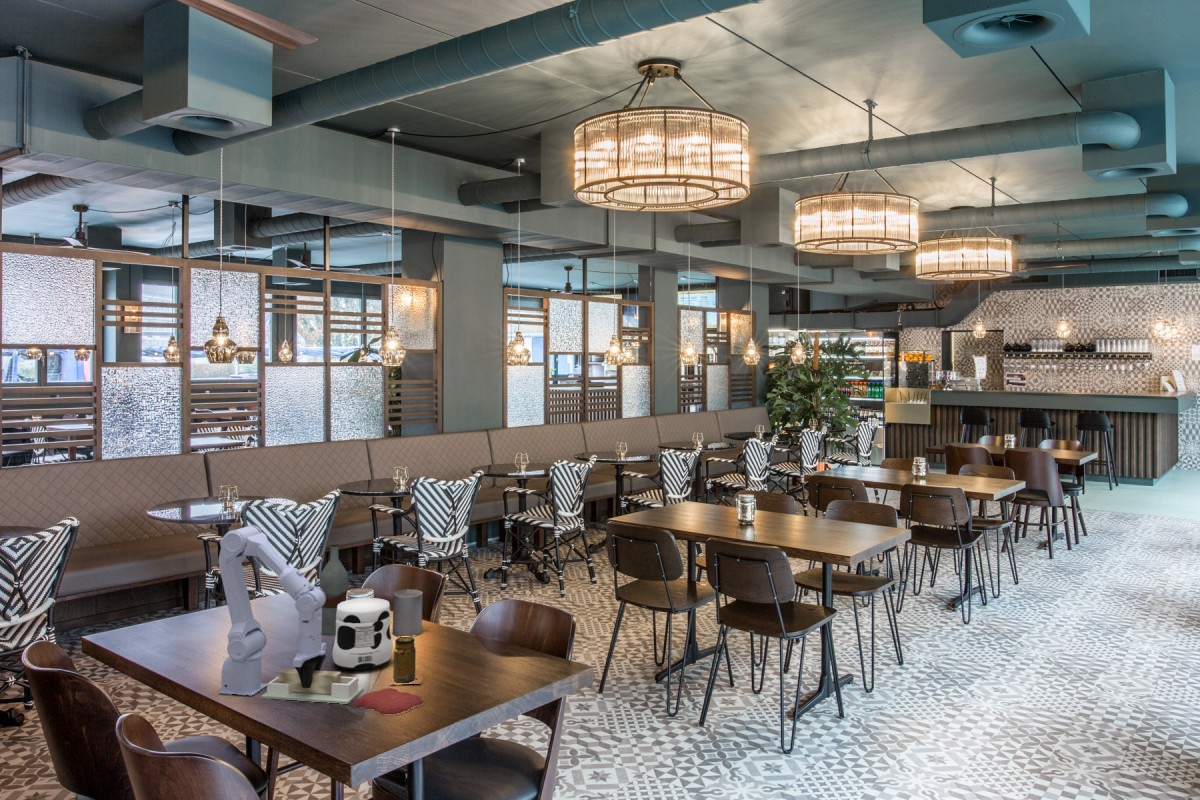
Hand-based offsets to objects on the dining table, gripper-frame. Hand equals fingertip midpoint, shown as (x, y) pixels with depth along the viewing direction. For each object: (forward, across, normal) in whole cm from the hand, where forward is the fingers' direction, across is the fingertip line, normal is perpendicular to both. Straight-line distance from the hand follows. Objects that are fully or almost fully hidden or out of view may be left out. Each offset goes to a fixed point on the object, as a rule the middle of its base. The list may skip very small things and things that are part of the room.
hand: (309, 685), depth 214 cm
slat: (+2, 0, 0) cm, 2 cm away
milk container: (+3, +25, -4) cm, 25 cm away
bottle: (+3, +54, +19) cm, 57 cm away
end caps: (+2, 0, -1) cm, 3 cm away
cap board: (+2, 0, -1) cm, 3 cm away
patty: (+3, -2, -23) cm, 23 cm away
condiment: (+3, +14, -22) cm, 26 cm away
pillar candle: (+3, +57, -6) cm, 57 cm away
